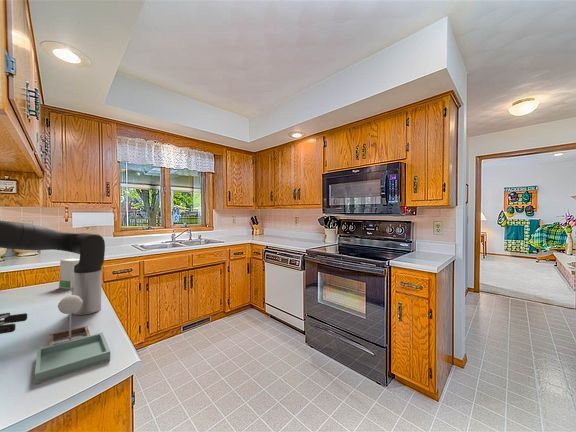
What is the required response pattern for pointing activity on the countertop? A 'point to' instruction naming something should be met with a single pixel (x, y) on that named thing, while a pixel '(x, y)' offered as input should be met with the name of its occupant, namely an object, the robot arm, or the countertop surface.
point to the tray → (70, 357)
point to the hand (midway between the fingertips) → (21, 321)
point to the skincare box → (67, 273)
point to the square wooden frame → (66, 334)
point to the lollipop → (70, 307)
